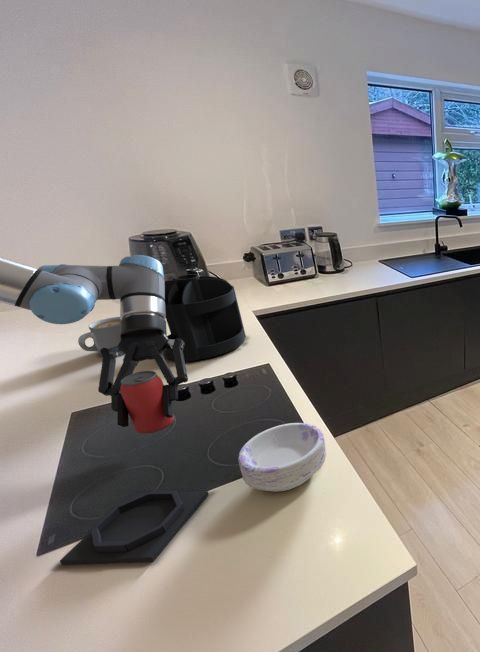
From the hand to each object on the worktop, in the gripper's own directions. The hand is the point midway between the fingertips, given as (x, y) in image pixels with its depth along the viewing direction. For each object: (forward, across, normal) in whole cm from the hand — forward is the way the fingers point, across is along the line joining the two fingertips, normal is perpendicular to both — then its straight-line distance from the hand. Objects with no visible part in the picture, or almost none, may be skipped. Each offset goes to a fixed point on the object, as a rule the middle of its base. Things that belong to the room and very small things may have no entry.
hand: (146, 420), depth 82 cm
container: (-36, -1, -51) cm, 63 cm away
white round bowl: (+19, -24, +4) cm, 31 cm away
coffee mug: (-42, +26, -58) cm, 76 cm away
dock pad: (+21, -1, +6) cm, 22 cm away
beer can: (0, 0, -5) cm, 5 cm away
